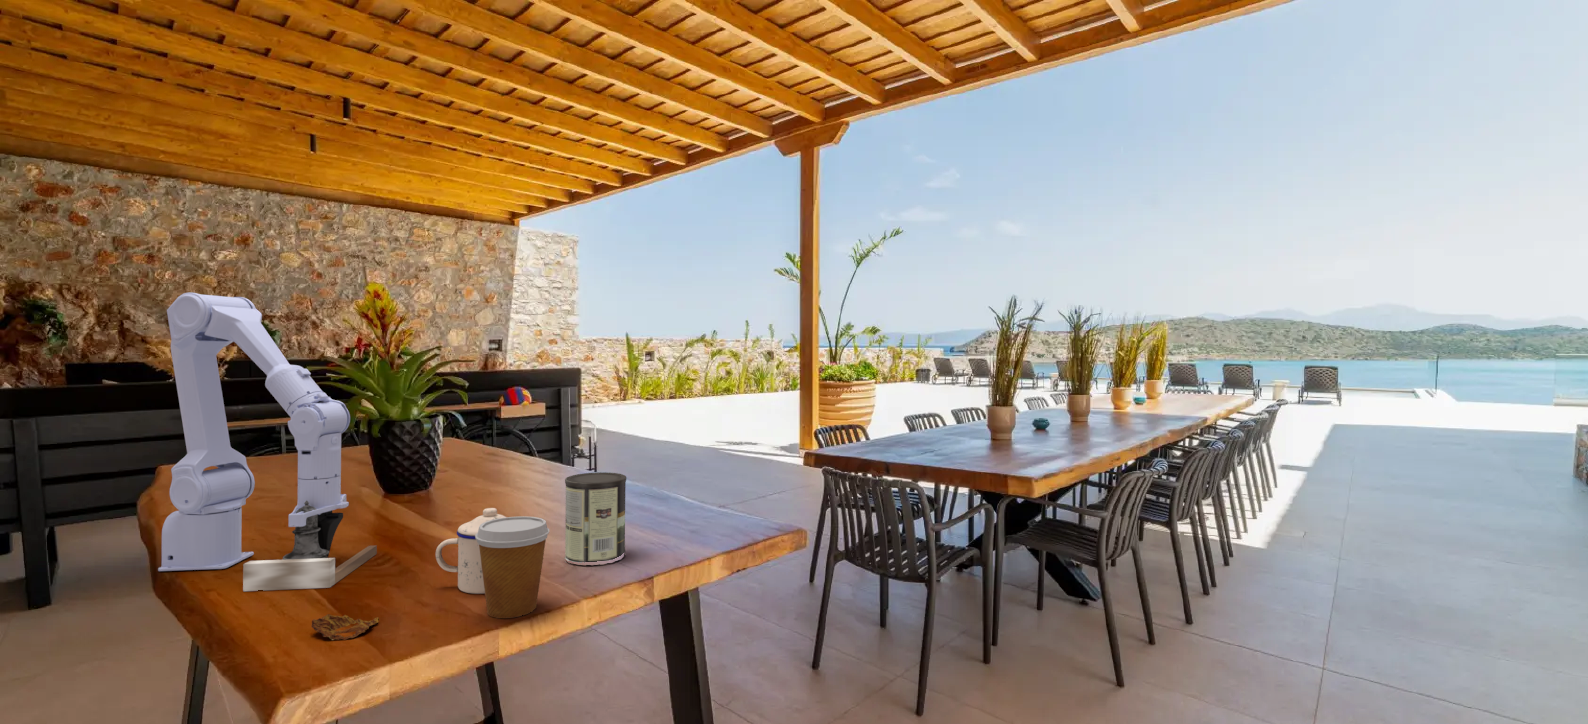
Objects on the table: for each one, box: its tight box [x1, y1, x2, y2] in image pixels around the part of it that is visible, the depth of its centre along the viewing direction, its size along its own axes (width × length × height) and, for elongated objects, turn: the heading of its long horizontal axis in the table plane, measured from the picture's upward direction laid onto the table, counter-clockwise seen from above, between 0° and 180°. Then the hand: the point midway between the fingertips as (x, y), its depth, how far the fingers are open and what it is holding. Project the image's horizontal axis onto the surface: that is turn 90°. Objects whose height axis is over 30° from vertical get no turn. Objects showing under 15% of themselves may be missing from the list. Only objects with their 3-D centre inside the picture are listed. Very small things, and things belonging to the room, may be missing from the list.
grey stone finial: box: [282, 501, 330, 560], centre depth 105 cm, size 6×6×12 cm
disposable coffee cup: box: [475, 515, 550, 619], centre depth 94 cm, size 10×10×12 cm
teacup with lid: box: [435, 507, 507, 595], centre depth 103 cm, size 12×9×12 cm
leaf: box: [311, 613, 380, 641], centre depth 86 cm, size 6×7×2 cm
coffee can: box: [564, 471, 627, 563], centre depth 118 cm, size 10×10×14 cm
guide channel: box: [242, 544, 378, 592], centre depth 108 cm, size 11×17×4 cm
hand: (318, 560), depth 109 cm, fingers closed
